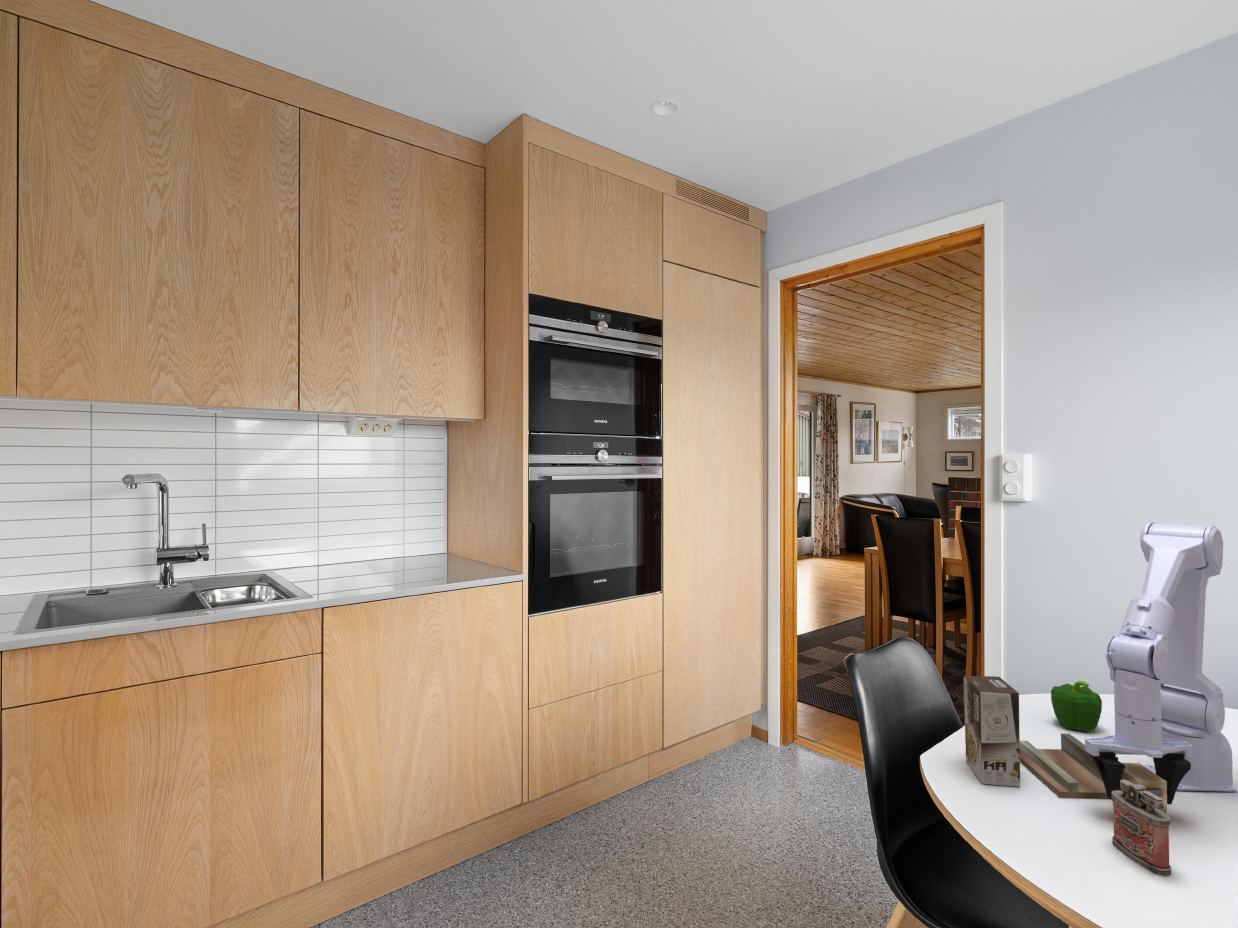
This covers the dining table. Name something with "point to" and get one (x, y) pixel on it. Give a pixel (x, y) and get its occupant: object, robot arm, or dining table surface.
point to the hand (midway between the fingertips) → (1139, 800)
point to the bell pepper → (1076, 706)
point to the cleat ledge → (1065, 769)
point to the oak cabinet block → (1146, 780)
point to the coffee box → (992, 730)
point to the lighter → (1141, 827)
